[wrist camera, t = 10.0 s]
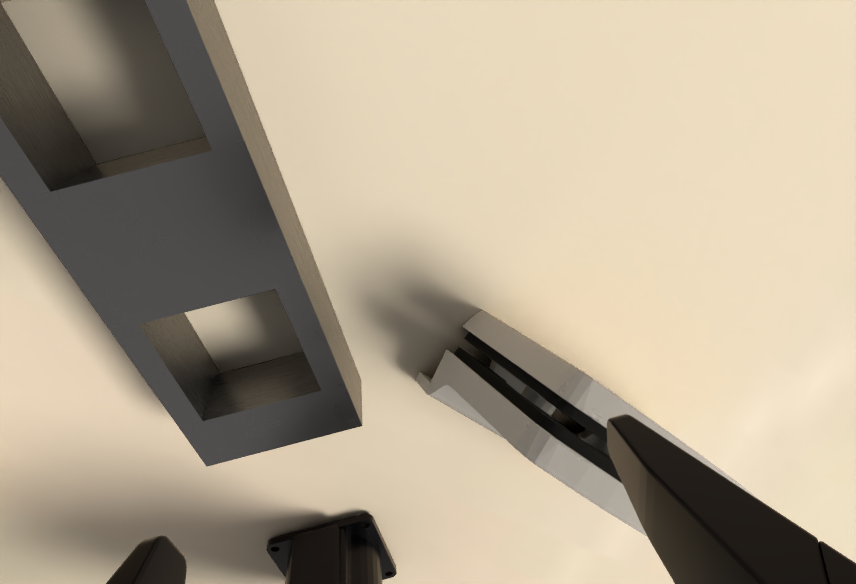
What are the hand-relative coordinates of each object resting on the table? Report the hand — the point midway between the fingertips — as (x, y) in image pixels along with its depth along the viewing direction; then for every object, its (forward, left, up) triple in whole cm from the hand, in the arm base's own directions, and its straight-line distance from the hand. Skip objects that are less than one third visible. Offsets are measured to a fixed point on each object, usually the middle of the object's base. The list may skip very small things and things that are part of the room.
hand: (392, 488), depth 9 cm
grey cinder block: (+3, +6, -12) cm, 14 cm away
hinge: (-12, -8, -12) cm, 19 cm away
